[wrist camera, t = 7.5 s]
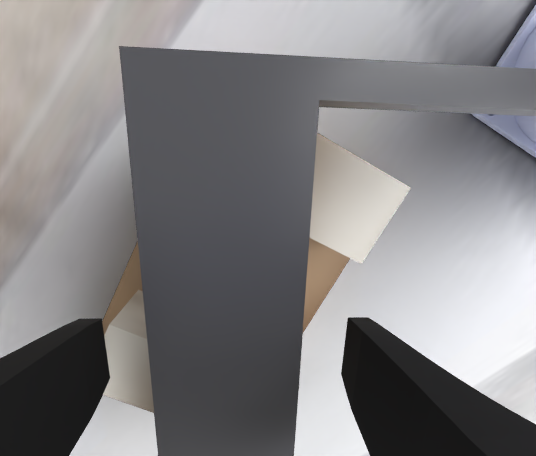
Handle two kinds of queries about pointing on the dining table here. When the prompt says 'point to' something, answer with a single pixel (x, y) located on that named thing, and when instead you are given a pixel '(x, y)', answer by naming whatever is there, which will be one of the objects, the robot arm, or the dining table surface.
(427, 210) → the dining table surface
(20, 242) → the dining table surface
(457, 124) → the dining table surface
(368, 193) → the display stand
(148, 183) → the grey notched block
